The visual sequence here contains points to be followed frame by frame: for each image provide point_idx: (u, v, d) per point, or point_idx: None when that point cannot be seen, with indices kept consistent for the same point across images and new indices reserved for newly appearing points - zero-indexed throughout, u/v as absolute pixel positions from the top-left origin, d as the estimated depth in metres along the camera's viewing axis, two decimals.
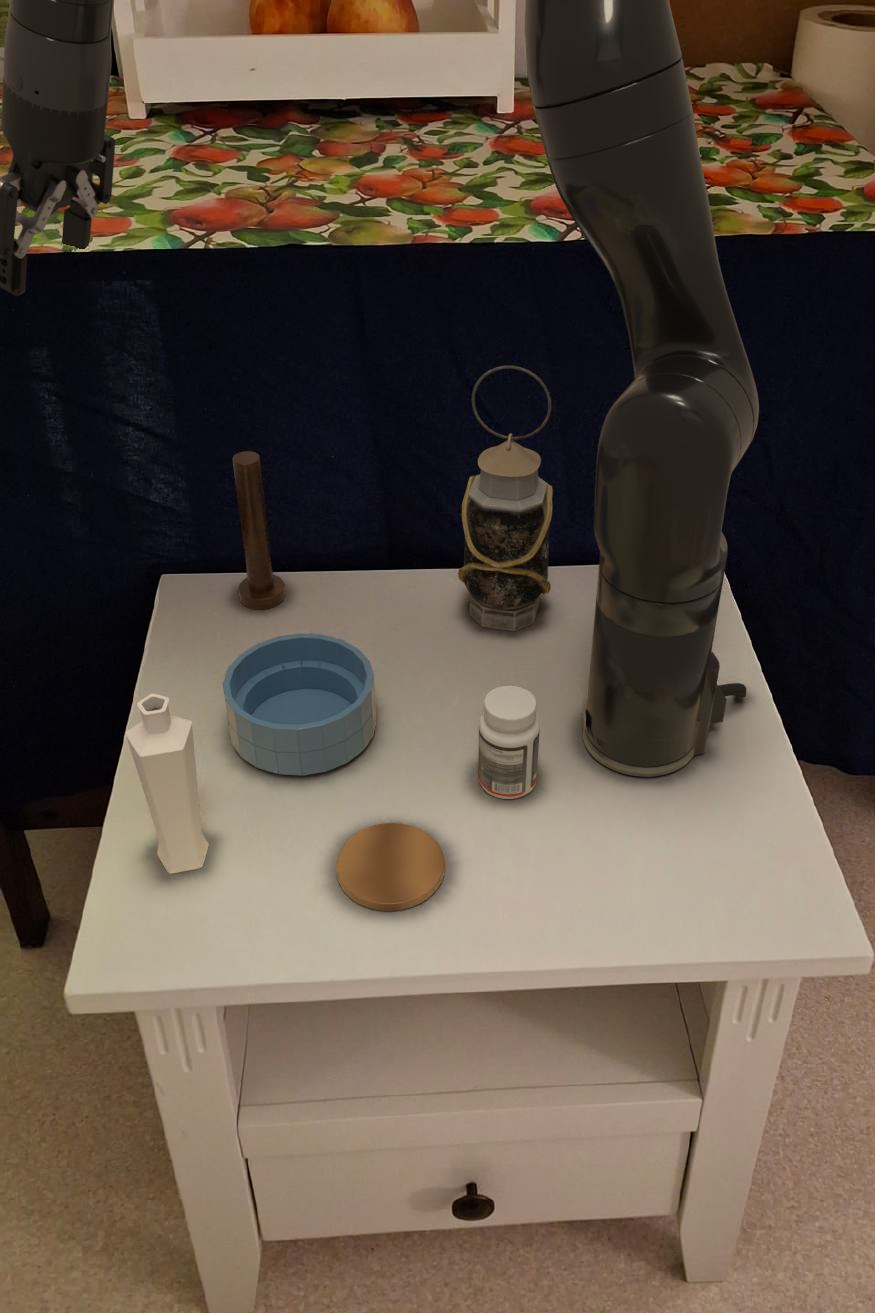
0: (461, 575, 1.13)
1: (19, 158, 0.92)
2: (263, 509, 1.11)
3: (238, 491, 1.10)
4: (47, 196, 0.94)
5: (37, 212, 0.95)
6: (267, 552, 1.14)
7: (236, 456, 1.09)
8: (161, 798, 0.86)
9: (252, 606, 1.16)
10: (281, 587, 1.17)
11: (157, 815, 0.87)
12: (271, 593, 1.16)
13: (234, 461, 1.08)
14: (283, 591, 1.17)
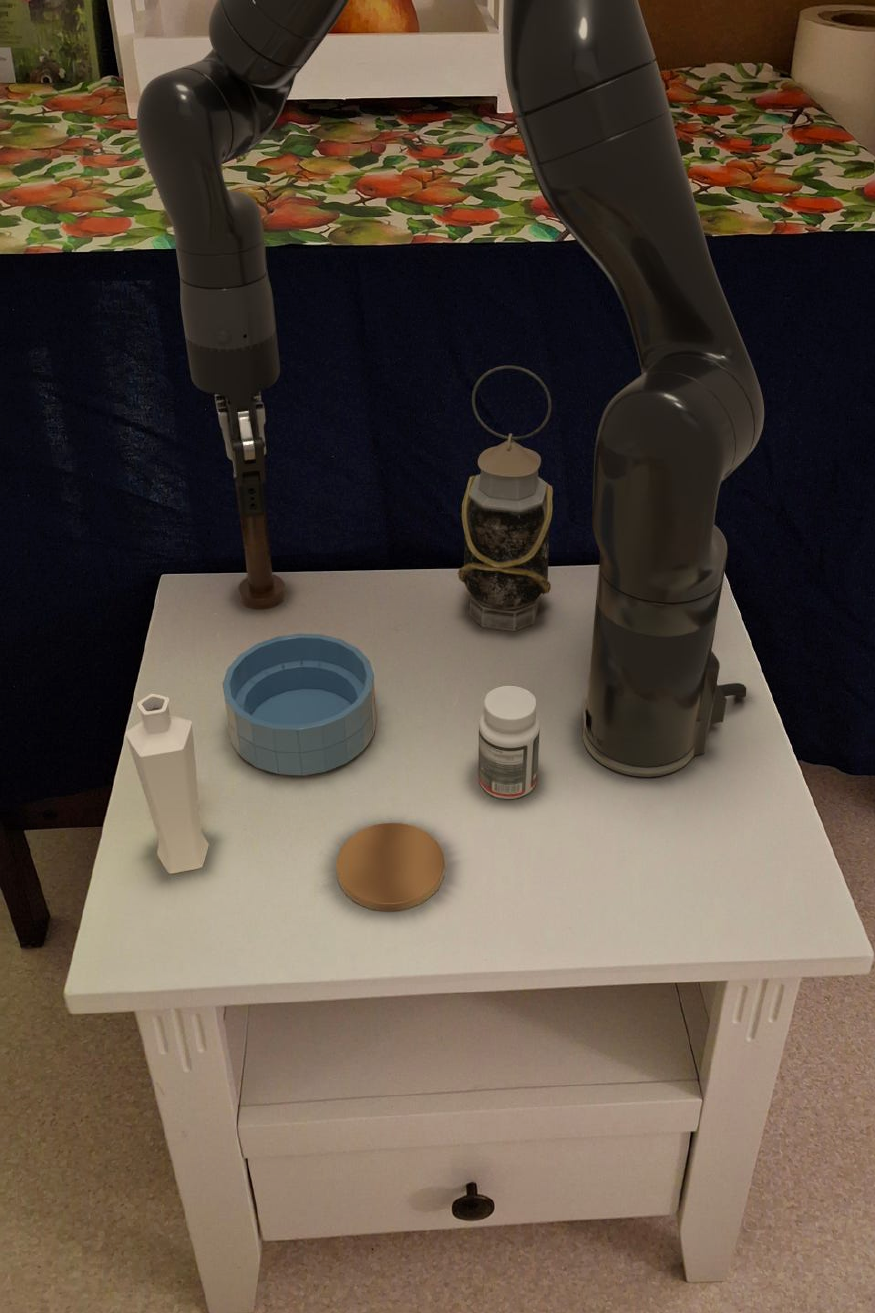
0: (461, 575, 1.13)
1: (239, 401, 1.01)
2: None
3: None
4: (261, 424, 1.05)
5: None
6: (267, 552, 1.14)
7: None
8: (161, 798, 0.86)
9: (252, 606, 1.16)
10: (281, 587, 1.17)
11: (157, 815, 0.87)
12: (271, 593, 1.16)
13: None
14: (283, 591, 1.17)
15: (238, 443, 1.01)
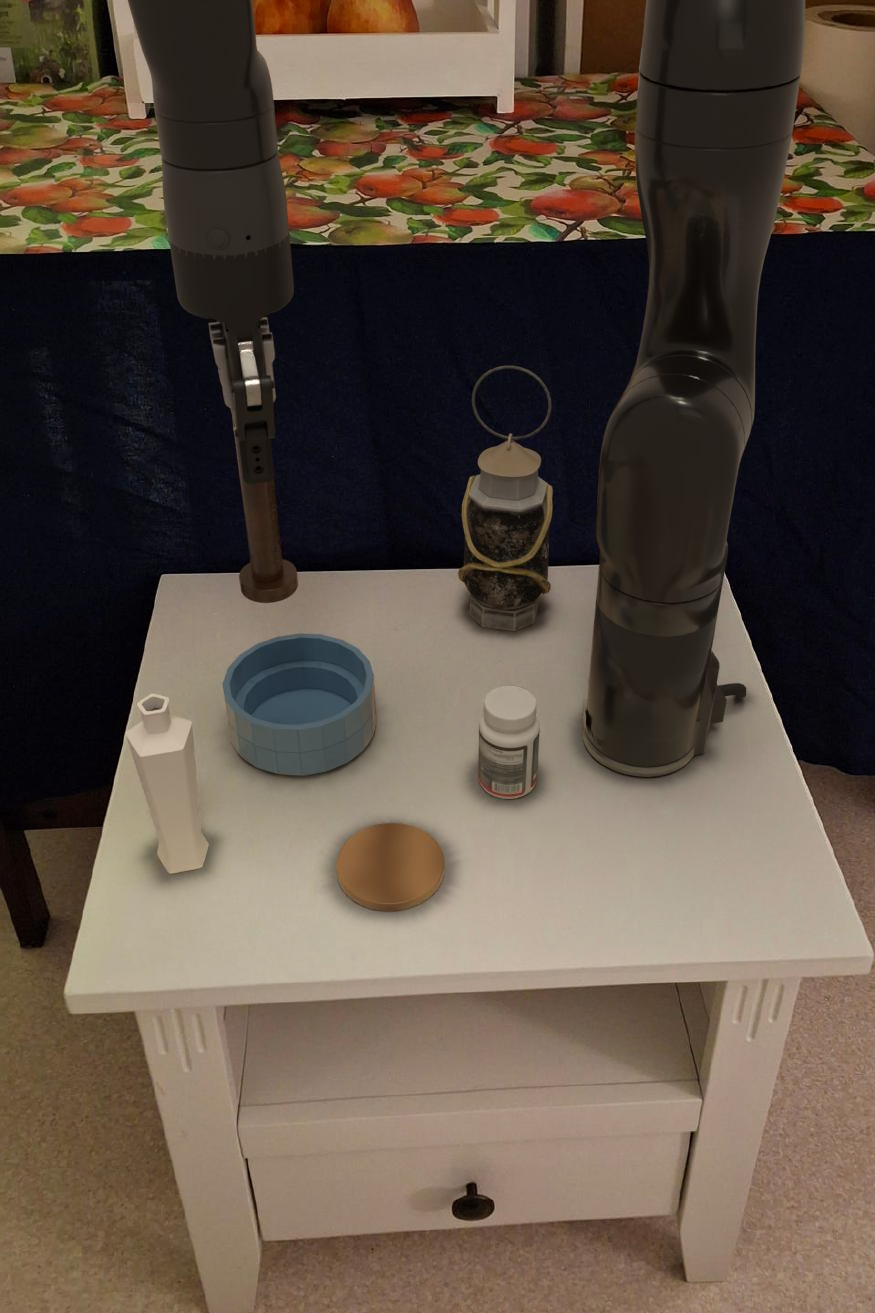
0: (461, 575, 1.13)
1: (240, 328, 0.77)
2: None
3: (238, 450, 0.85)
4: (269, 361, 0.80)
5: None
6: (275, 530, 0.90)
7: None
8: (161, 798, 0.86)
9: (256, 599, 0.92)
10: (292, 575, 0.93)
11: (157, 815, 0.87)
12: (280, 583, 0.92)
13: None
14: (295, 580, 0.93)
15: (239, 382, 0.76)
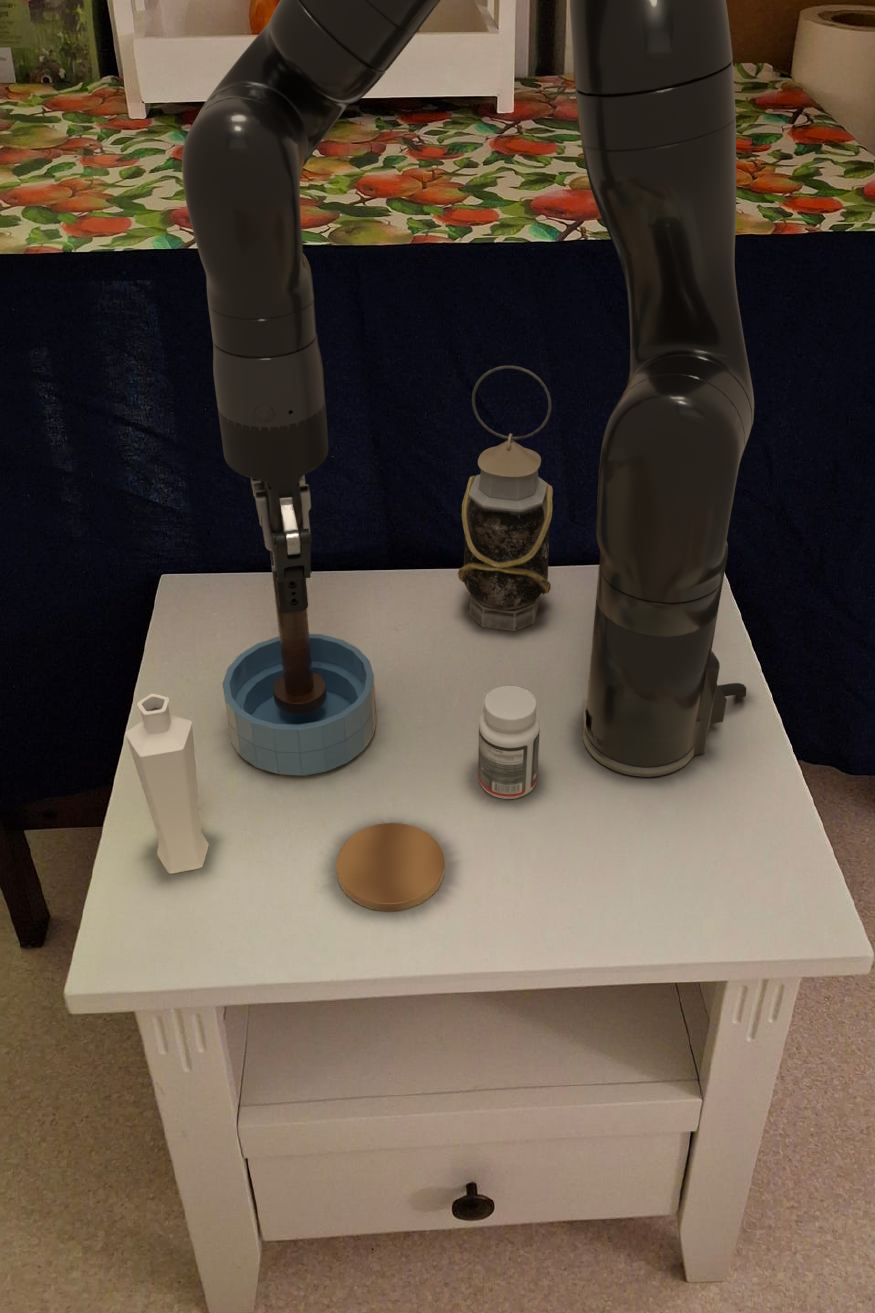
0: (461, 575, 1.13)
1: (281, 486, 0.85)
2: None
3: (275, 583, 0.94)
4: (305, 510, 0.89)
5: (304, 528, 0.90)
6: (307, 650, 0.98)
7: None
8: (161, 798, 0.86)
9: (289, 711, 1.00)
10: (322, 687, 1.01)
11: (157, 815, 0.87)
12: (311, 696, 1.01)
13: None
14: (324, 692, 1.01)
15: (281, 536, 0.85)
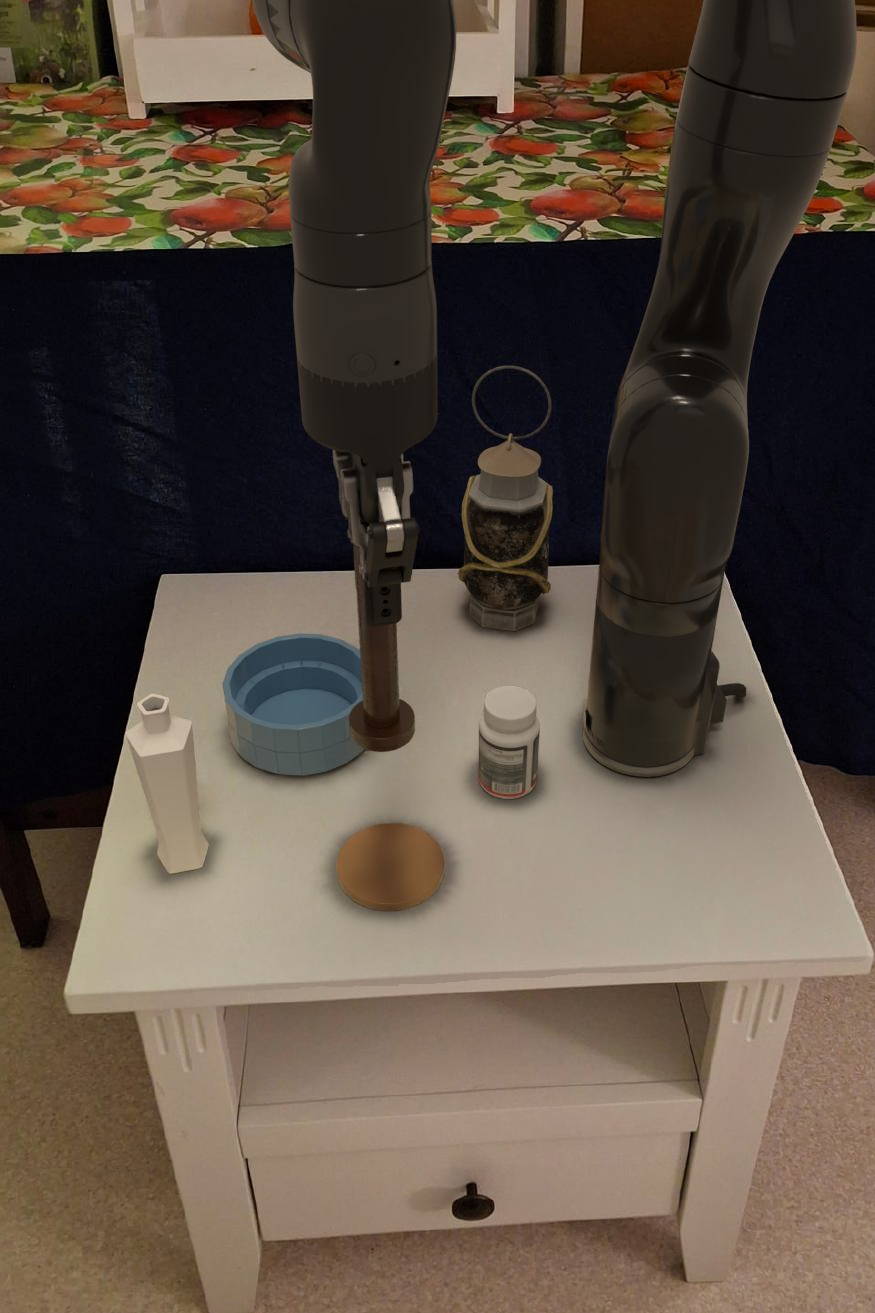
0: (461, 575, 1.13)
1: (380, 463, 0.65)
2: None
3: (360, 589, 0.74)
4: (406, 495, 0.69)
5: (403, 518, 0.70)
6: (395, 672, 0.78)
7: None
8: (161, 798, 0.86)
9: (370, 747, 0.80)
10: (410, 718, 0.81)
11: (157, 815, 0.87)
12: (398, 729, 0.80)
13: (357, 546, 0.72)
14: (413, 724, 0.81)
15: (379, 528, 0.65)
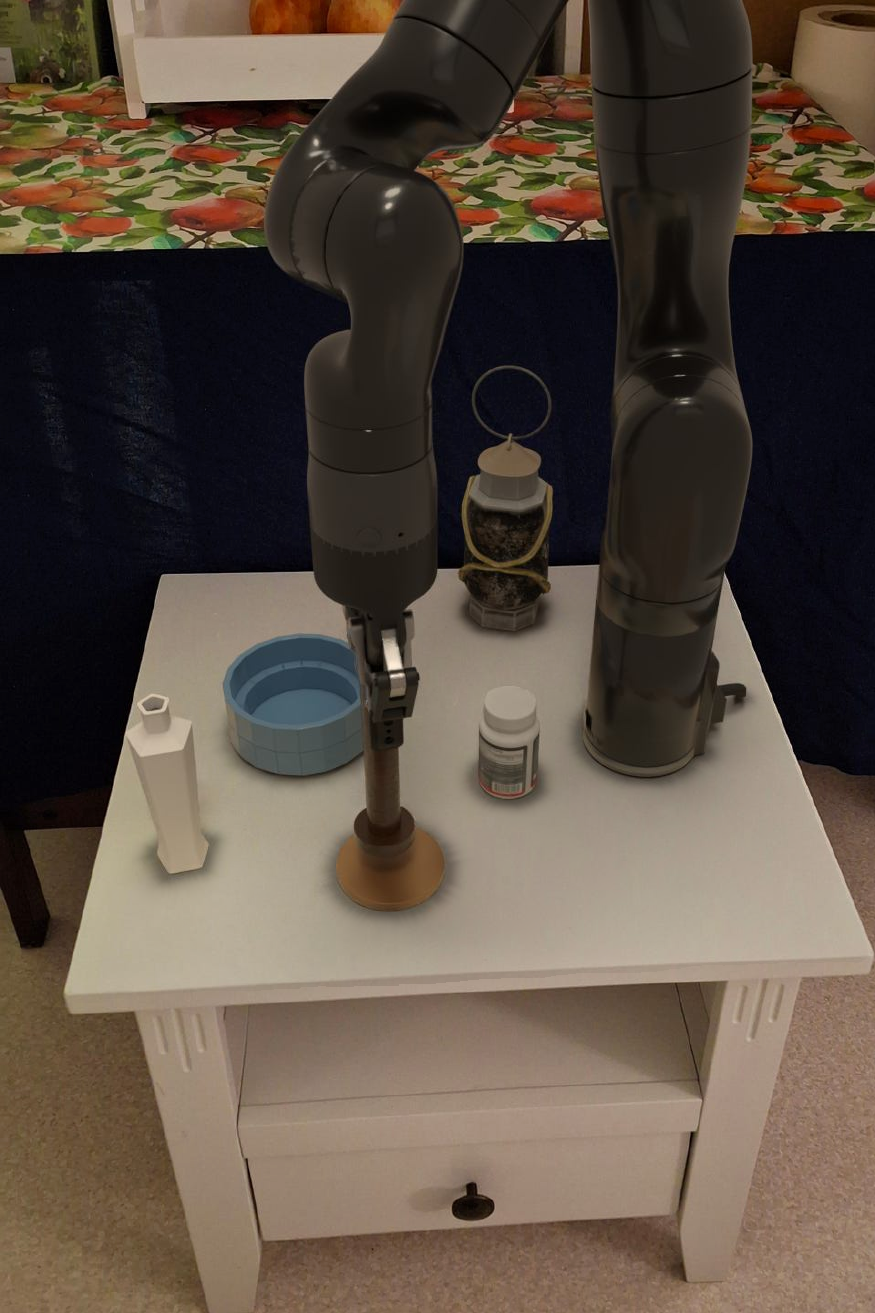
0: (461, 575, 1.13)
1: (384, 618, 0.72)
2: None
3: (365, 717, 0.80)
4: (408, 639, 0.75)
5: (405, 659, 0.76)
6: (397, 787, 0.85)
7: None
8: (161, 798, 0.86)
9: (373, 854, 0.87)
10: (410, 826, 0.88)
11: (157, 815, 0.87)
12: (399, 837, 0.87)
13: None
14: (413, 832, 0.88)
15: (383, 678, 0.71)
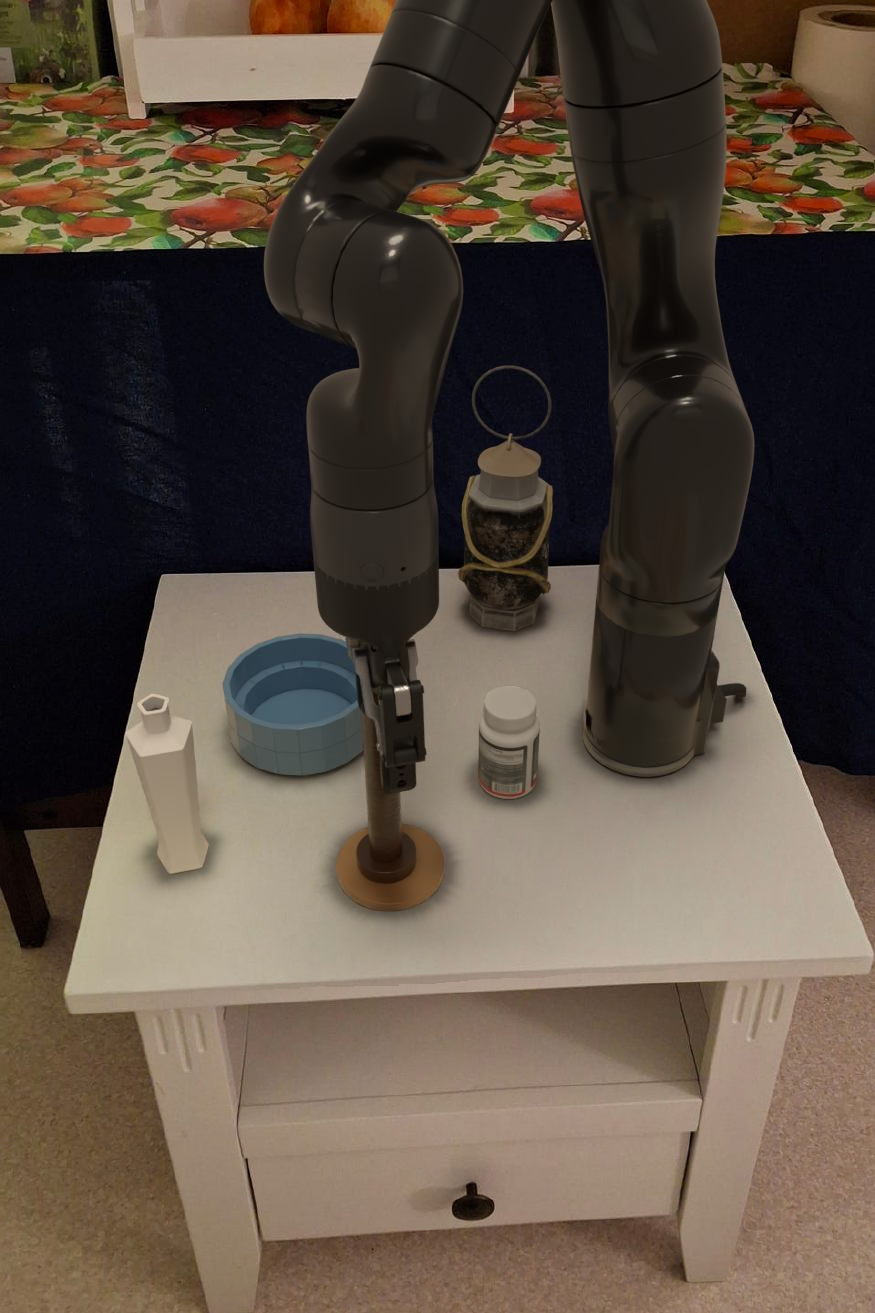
0: (461, 575, 1.13)
1: (388, 649, 0.73)
2: None
3: (366, 747, 0.82)
4: (412, 667, 0.76)
5: None
6: (398, 815, 0.86)
7: None
8: (161, 798, 0.86)
9: (375, 880, 0.88)
10: (412, 852, 0.89)
11: (157, 815, 0.87)
12: (400, 863, 0.88)
13: (364, 712, 0.80)
14: (415, 857, 0.89)
15: (387, 687, 0.71)
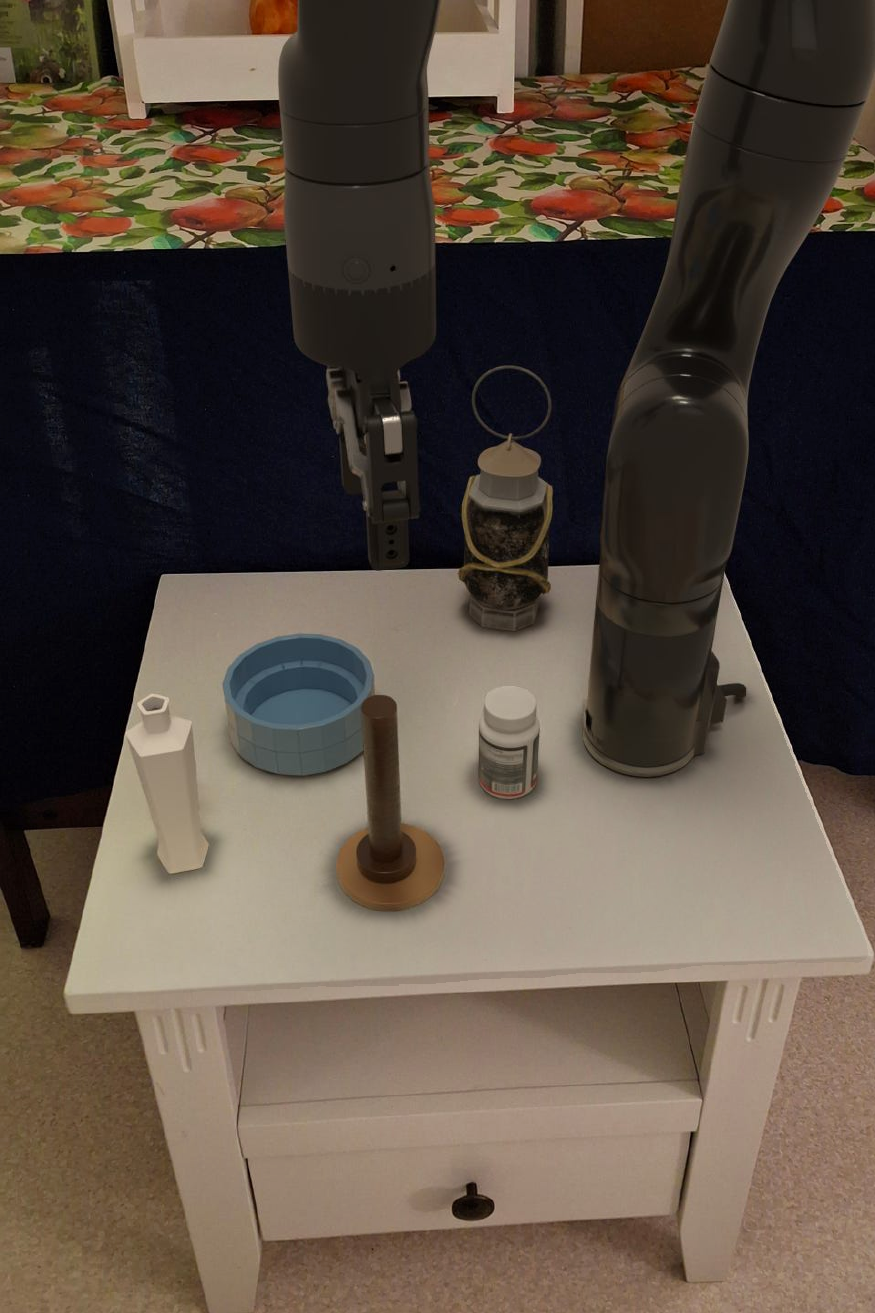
0: (461, 575, 1.13)
1: (375, 378, 0.62)
2: (397, 766, 0.84)
3: (366, 747, 0.82)
4: None
5: None
6: (398, 815, 0.86)
7: (365, 704, 0.81)
8: (161, 798, 0.86)
9: (375, 880, 0.88)
10: (412, 852, 0.89)
11: (157, 815, 0.87)
12: (400, 863, 0.88)
13: (364, 712, 0.80)
14: (415, 857, 0.89)
15: (374, 416, 0.61)
